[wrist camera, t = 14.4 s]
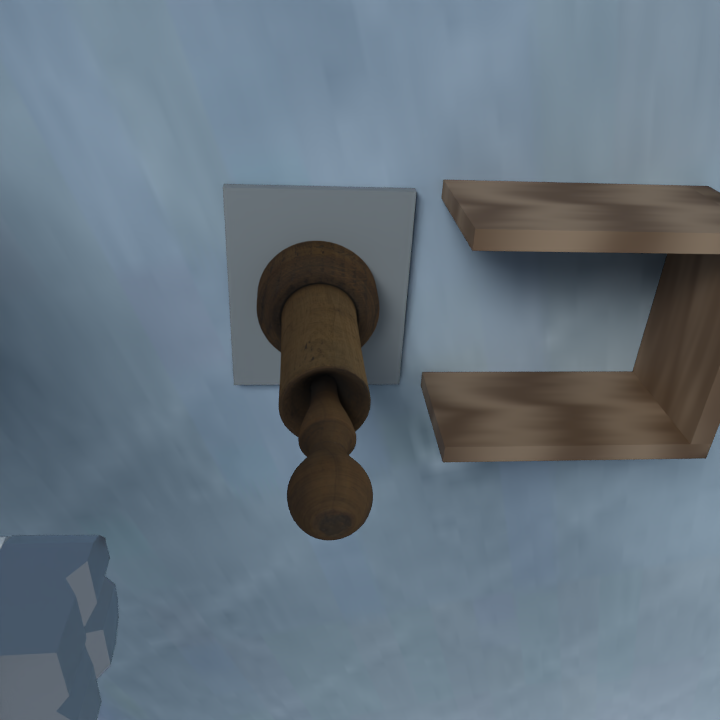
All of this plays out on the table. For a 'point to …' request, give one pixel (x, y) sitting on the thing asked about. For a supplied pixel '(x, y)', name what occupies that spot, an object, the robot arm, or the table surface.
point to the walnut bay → (594, 389)
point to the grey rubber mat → (317, 223)
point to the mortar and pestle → (322, 377)
